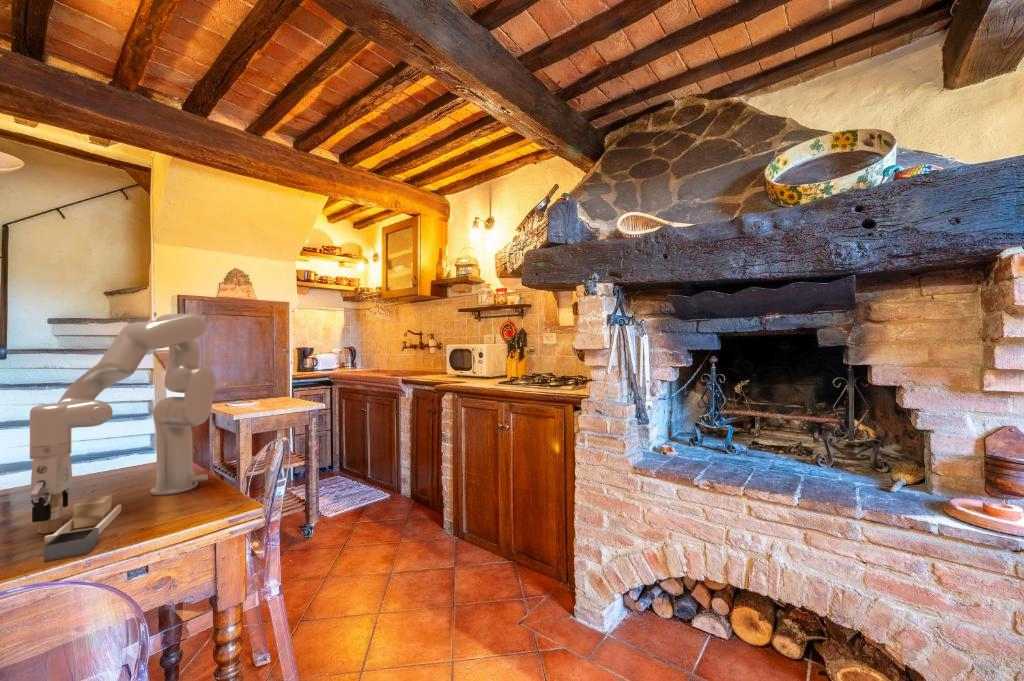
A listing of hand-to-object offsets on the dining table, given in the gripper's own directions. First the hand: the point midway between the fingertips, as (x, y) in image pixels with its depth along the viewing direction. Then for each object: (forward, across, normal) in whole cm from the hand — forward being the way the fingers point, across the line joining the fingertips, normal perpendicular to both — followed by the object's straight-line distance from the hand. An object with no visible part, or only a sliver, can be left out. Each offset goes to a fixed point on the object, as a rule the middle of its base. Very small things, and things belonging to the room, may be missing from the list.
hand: (50, 514), depth 111 cm
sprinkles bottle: (+5, 0, 0) cm, 5 cm away
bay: (+4, -3, -8) cm, 10 cm away
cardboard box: (+4, +1, -8) cm, 9 cm away
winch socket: (+4, -18, -10) cm, 21 cm away
